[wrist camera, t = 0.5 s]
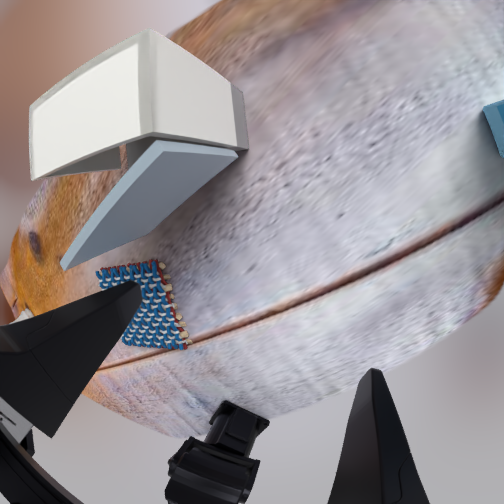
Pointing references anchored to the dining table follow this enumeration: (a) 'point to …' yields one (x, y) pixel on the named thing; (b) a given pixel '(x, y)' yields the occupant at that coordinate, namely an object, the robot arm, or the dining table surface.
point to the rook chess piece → (24, 315)
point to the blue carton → (496, 123)
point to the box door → (147, 196)
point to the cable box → (132, 108)
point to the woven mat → (149, 306)
